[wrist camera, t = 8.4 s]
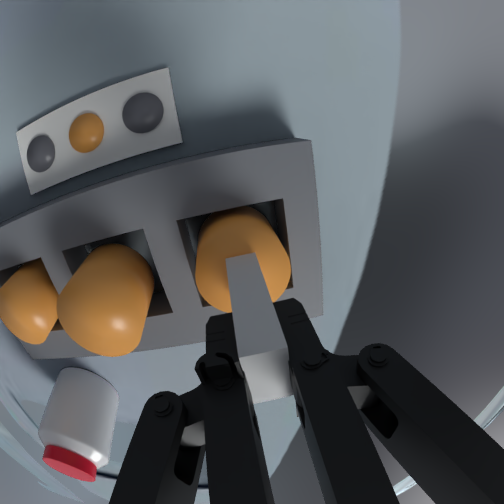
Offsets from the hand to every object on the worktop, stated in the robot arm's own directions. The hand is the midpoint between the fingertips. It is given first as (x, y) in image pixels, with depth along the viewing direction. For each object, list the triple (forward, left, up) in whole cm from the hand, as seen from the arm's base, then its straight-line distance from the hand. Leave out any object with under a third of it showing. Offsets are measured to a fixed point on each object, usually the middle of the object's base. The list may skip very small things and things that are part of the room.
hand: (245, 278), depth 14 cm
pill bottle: (-20, -14, -6) cm, 25 cm away
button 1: (0, 0, -5) cm, 5 cm away
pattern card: (-8, +10, -6) cm, 14 cm away
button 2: (-16, 0, -5) cm, 17 cm away
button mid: (-8, 0, -3) cm, 9 cm away
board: (-8, 0, -6) cm, 10 cm away
